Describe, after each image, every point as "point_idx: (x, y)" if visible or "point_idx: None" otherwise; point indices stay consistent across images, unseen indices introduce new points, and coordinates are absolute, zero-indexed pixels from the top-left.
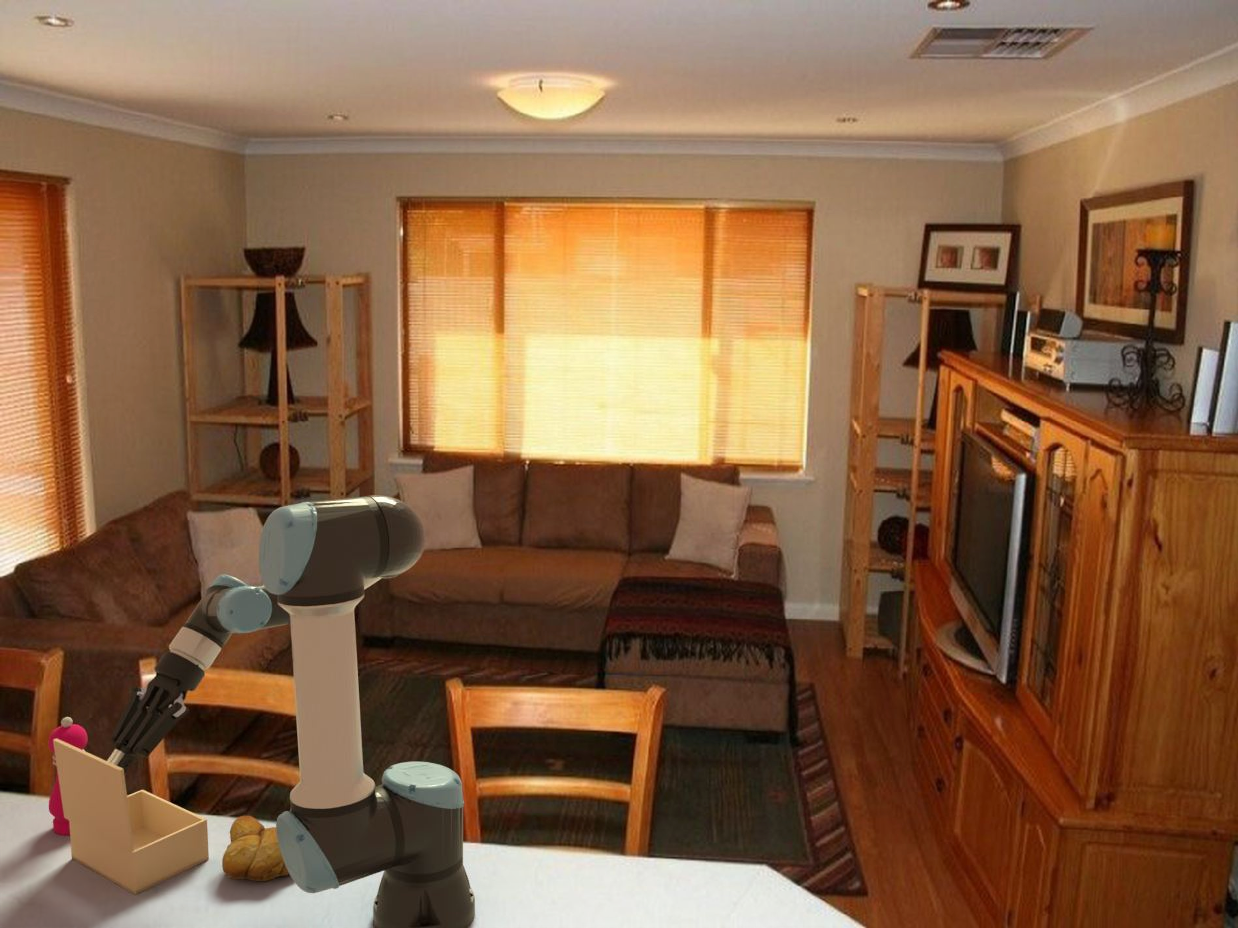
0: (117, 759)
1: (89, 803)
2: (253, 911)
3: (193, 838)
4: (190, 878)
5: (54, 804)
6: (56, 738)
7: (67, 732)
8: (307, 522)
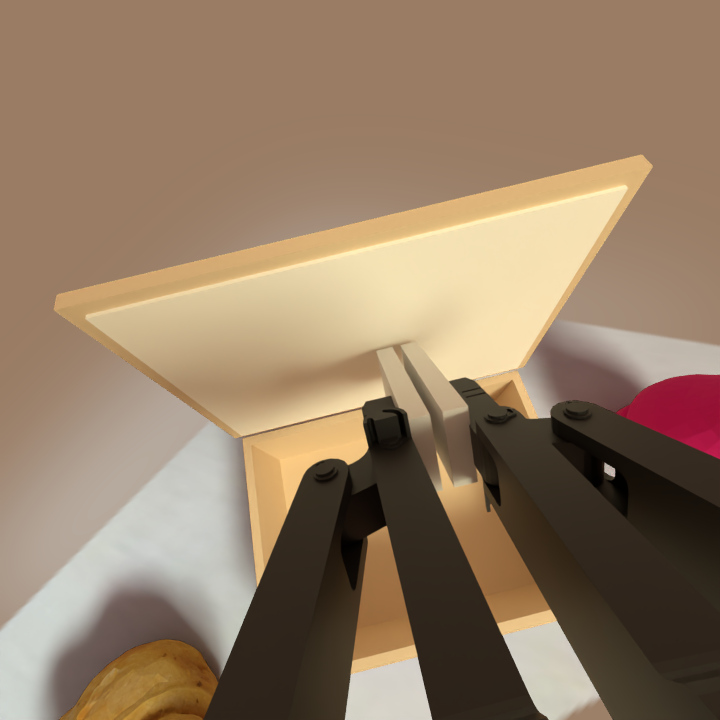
0: (396, 404)
1: None
2: (37, 625)
3: None
4: (251, 571)
5: (666, 380)
6: (650, 166)
7: None
8: None
